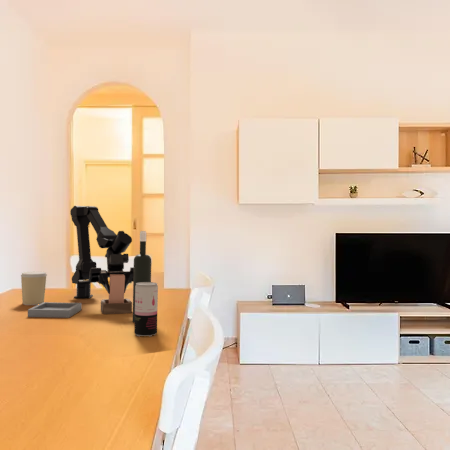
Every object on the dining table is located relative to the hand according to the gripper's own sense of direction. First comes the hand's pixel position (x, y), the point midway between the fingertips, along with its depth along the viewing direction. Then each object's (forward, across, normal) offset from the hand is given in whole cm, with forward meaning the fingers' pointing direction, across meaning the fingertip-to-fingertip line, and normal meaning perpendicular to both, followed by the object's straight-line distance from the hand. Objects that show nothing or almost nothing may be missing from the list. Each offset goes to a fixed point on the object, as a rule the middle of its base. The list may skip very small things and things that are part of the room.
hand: (116, 292), depth 166 cm
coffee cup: (-12, -30, +22) cm, 39 cm away
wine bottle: (+18, +6, -8) cm, 21 cm away
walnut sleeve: (+4, 0, +6) cm, 7 cm away
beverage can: (+30, +5, -20) cm, 37 cm away
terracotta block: (+4, 0, +6) cm, 7 cm away
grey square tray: (+4, -21, +6) cm, 22 cm away
